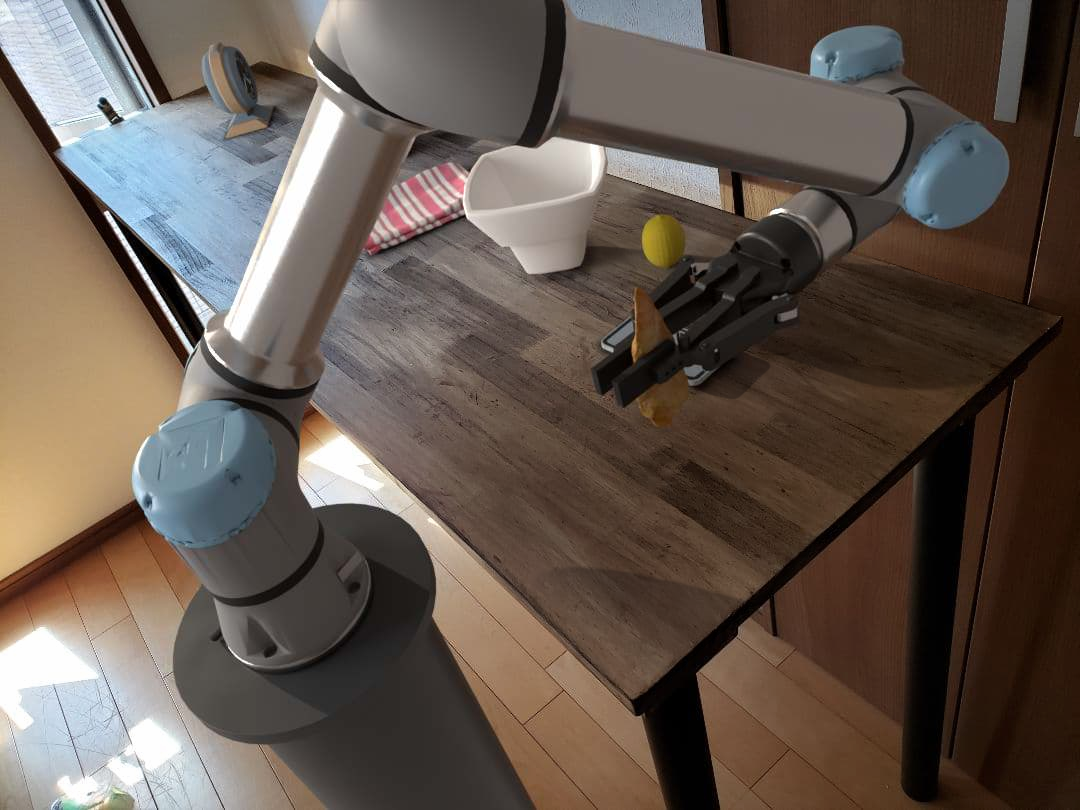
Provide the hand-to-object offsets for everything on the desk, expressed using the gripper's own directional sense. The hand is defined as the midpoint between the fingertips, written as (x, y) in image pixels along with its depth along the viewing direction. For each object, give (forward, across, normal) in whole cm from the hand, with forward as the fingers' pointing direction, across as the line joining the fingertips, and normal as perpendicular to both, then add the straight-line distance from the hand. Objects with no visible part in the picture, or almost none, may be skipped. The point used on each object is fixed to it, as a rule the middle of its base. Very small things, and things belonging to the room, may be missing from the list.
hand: (607, 388), depth 69 cm
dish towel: (-23, +76, -18) cm, 82 cm away
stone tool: (-5, 0, -8) cm, 10 cm away
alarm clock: (-26, +153, -18) cm, 156 cm away
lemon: (-33, +28, -18) cm, 47 cm away
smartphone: (-20, +16, -18) cm, 32 cm away
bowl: (-26, +43, -18) cm, 54 cm away
